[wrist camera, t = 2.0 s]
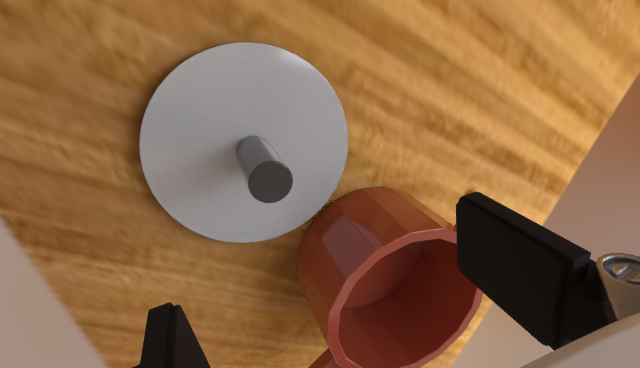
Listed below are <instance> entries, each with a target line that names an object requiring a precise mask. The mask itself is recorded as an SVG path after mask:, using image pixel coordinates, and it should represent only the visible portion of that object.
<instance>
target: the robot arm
mask: <svg viewBox="0 0 640 368" xmlns="http://www.w3.org/2000/svg"><path fill="white" fill-rule="evenodd" d="M456 232H457V266H458V269H459V271H460V272H461V273H462V274H463V275H464V276H465V277H466V278H467V279H468V280H469V281H471V282H472V283H473V284H474V285H475V286H476V287H477V288H479V289H480V290H481V291H482V292H483V293H484V294H485V295H487V296H488V297H489V298H490V299H491V300H492V301H493V302H495V303H496V304H497V305H498V306H499V307H500V308H501V309H502V310H504V311H505V312H506V313H507V314H508V315H509V316H510V317H512V318H513V319H514V320H515V321H516V322H517V323H518V324H520V325H521V326H522V327H523V328H524V329H525V330H526V331H528V332H529V333H530V334H531V335H532V336H533V337H534V338H536V339H537V340H538V341H539V342H540V343H542V344H543V345H545V346H548V345H549V346H550V347H551V348H552V349H553V350H554V351H553V352H551V353H549V354H547V355H545V356H543V357H541V358H539V359H537V360H535V361H533V362H531V363H529V364H527V365H525V366H523V367H521V368H640V257H639V256H635V255H631V254H624V253H610V254H605V255H603V256H601V257H599V258H598V260H597V261H596V262H595V261H593V260H591V259H590V255H591V252H589V251H587V250H585V249H583V248H581V247H579V246H578V245H576V244H574V243H572V242H570V241H568V240H567V239H565V238H563V237H561V236H559V235H557V234H556V233H554V232H552V231H550V230H548V229H546V228H544V227H543V226H541V225H539V224H537V223H535V222H533V221H531V220H530V219H528V218H526V217H524V216H522V215H520V214H519V213H517V212H515V211H513V210H511V209H509V208H507V207H506V206H504V205H502V204H500V203H498V202H496V201H494V200H493V199H491V198H489V197H487V196H485V195H483V194H482V193H479V192H473V193H470V194H468V195H465V196H462V197H461V198H460V199H459V202H458V203H457V204H456ZM132 368H210V365H209V363H208V361H207V359H206V357H205V355H204V353H203V351H202V349H201V347H200V345H199V343H198V341H197V338H196V336H195V334H194V332H193V330H192V328H191V326H190V324H189V322H188V320H187V318H186V316H185V314H184V312H183V310H182V308H181V306H180V305H176V306H173V304H172V303H170V302H169V303H166V304H164V305H161V306H158V307H155V308H153V309H150V310H149V312H148V318H147V324H146V330H145V337H144V343H143V349H142V355H141V361H140V365H138V366H135V367H132Z"/></svg>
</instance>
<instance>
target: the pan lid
mask: <svg viewBox="0 0 640 368" xmlns="http://www.w3.org/2000/svg"><path fill="white" fill-rule="evenodd" d="M139 149H140V160H141V165H142V169H143V173H144V176H145V178H146V181H147V184H148V186H149V188H150V189H151V191H152V193H153V195H154V197H155V198H156V199H157V201H158V202H159V203H160V205H161V206H162V207H163V208H164V209H165V210H166V211H167V212H168V213H169V214H170V216H171V217H173V218H174V219H175V220H177V221H178V222H179V223H180V224H182V225H183V226H185V227H187V228H188V229H190V230H192V231H193V232H196V233H198V234H200V235H203V236H205V237H208V238H212V239H215V240H219V241H225V242H234V243H249V242H258V241H264V240H269V239H272V238H275V237H279V236H281V235H283V234H286V233H288V232H290V231H292V230H294V229H296V228H297V227H299V226H301V225H302V224H304V223H305V222H306V221H308V220H309V219H310V218H312V217H313V216H314V215H315V214H316V213H317V212H318V211H319V210H320V209H321V208H322V207H323V206H324V205H325V204H326V202H327V201H328V200H329V198H330V197H331V195H332V194H333V192H334V190H335V189H336V187H337V185H338V183H339V181H340V178H341V176H342V174H343V171H344V167H345V163H346V159H347V152H348V129H347V122H346V118H345V114H344V111H343V108H342V105H341V103H340V100H339V98H338V97H337V95H336V93H335V91H334V89H333V88H332V86H331V85H330V84H329V82H328V81H327V79H326V78H325V77H324V76H323V75H322V74H321V73H320V72H319V71H318V70H317V69H316V68H315V67H313V66H312V65H311V64H310V63H308V62H307V61H306V60H304V59H302V58H301V57H299V56H297V55H296V54H294V53H292V52H289V51H287V50H285V49H282V48H279V47H275V46H272V45H268V44H261V43H254V42H236V43H229V44H223V45H219V46H215V47H212V48H209V49H206V50H204V51H202V52H199V53H197V54H195V55H193V56H191V57H190V58H188V59H187V60H185V61H184V62H182V63H181V64H179V65H178V66H177V67H176V68H175V69H174V70H173V71H171V72H170V73H169V74H168V75H167V76H166V78H165V79H164V80H163V81H162V82H161V84H160V85H159V86H158V88H157V89H156V91H155V92H154V94H153V96H152V97H151V99H150V101H149V103H148V106H147V108H146V111H145V113H144V116H143V120H142V124H141V129H140V139H139Z"/></svg>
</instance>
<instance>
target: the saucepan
mask: <svg viewBox="0 0 640 368" xmlns="http://www.w3.org/2000/svg"><path fill="white" fill-rule="evenodd" d="M297 274H298V281H299V283H300V286H301V288H302V290H303V292H304V294H305V297H306V299H307V301H308V303H309V305H310V307H311V310H312V312H313V314H314V316H315V318H316V321H317V323H318V325H319V327H320V329H321V332H322V334H323V336H324V338H325V340H326V343H327V345H328V347H329V348H328V349H327V350H326V351H325V352H324V353H323V354H322V355H321V356H320V357H319V358H318V359H317V360H316V361H315V362H314V363H313V364H312V365H311V366H309V367H308V368H419V367H421V366H423V365H424V364H426V363H428V362H429V361H431V360H433V359H435V358H436V357H438V356H439V355H441V354H442V353H443V352H444V351H445V350H446V349H447V348H448V347H449V346H450V345H451V344H452V343H453V342H454V341H455V340H456V339H457V338H459V337H460V336H461V335H462V333H463V332H464V331H465V329H466V328H467V326H468V325H469V323H470V321H471V320H472V318H473V317H474V315H475V313H476V312H477V310H478V309H479V307H480V303H481V299H482V296H483V292H482V291H481V290H480V289H479V288H477V287H476V286H475V285H474V284H473V283H472V282H471V281H469V280H468V279H467V278H466V277H465V276H464V275H463V274H462V273H461V272H460V271H459V269H458V266H457V232H456V224H455V225H454V226H453V225H452V224H450V223H449V222H447V221H446V220H445V219H443V218H442V217H440V216H439V215H438V214H436V213H435V212H433V211H432V210H431V209H429V208H428V207H426V206H425V205H423V204H422V203H421V202H419V201H418V200H416V199H415V198H414V197H412V196H410V195H407V194H405V193H403V192H401V191H399V190H396V189H392V188H386V187H372V188H365V189H361V190H358V191H354V192H352V193H350V194H347V195H345V196H343V197H341V198H340V199H338V200H336V201H335V202H333V203H332V204H331V205H329V206H328V207H327V208H326V209H325V210H324V211H322V212H321V213H320V214H319V216H318V217H317V218H316V219H315V220H314V221H313V223H312V224H311V226H310V227H309V228H308V230H307V232H306V234H305V236H304V237H303V240H302V242H301V245H300V248H299V252H298V257H297Z"/></svg>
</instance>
